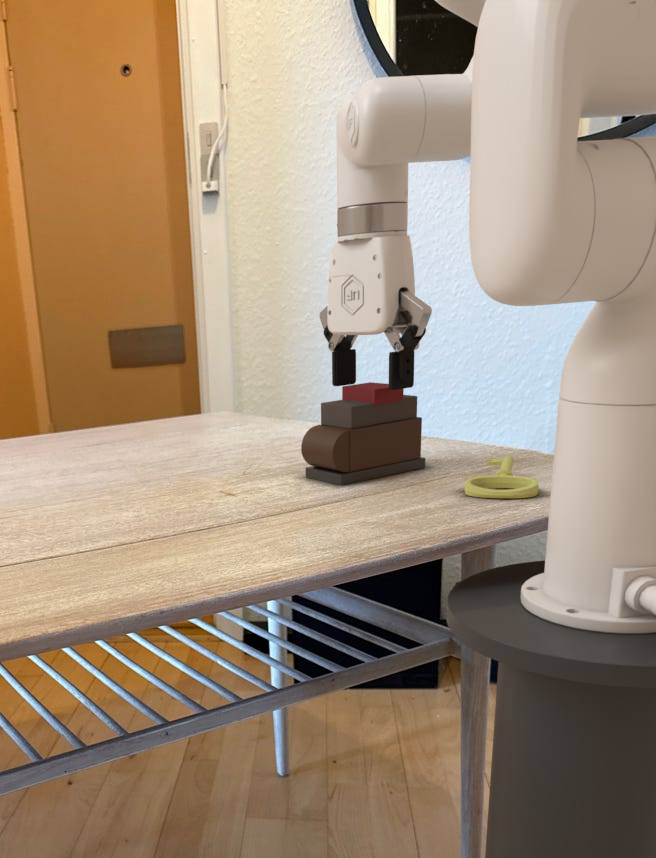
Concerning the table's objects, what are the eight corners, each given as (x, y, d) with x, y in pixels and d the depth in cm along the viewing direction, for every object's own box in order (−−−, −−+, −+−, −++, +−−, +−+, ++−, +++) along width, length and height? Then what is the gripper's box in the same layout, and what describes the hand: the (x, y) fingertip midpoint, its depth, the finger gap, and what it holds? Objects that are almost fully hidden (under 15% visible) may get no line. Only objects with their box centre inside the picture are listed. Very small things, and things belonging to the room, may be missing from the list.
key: (511, 473, 104) (512, 454, 103) (543, 498, 93) (545, 477, 92) (446, 476, 105) (447, 457, 104) (471, 502, 94) (472, 481, 93)
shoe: (334, 486, 104) (334, 433, 102) (299, 478, 109) (298, 427, 107) (425, 467, 110) (427, 417, 108) (387, 460, 116) (388, 412, 113)
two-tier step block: (352, 429, 104) (352, 393, 102) (320, 424, 108) (319, 389, 107) (417, 417, 108) (418, 382, 107) (384, 413, 113) (385, 380, 111)
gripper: (296, 234, 106) (300, 387, 112) (402, 217, 91) (399, 393, 97) (347, 232, 109) (347, 380, 115) (456, 215, 95) (451, 386, 101)
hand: (371, 386), depth 106 cm, fingers open, 9 cm apart
